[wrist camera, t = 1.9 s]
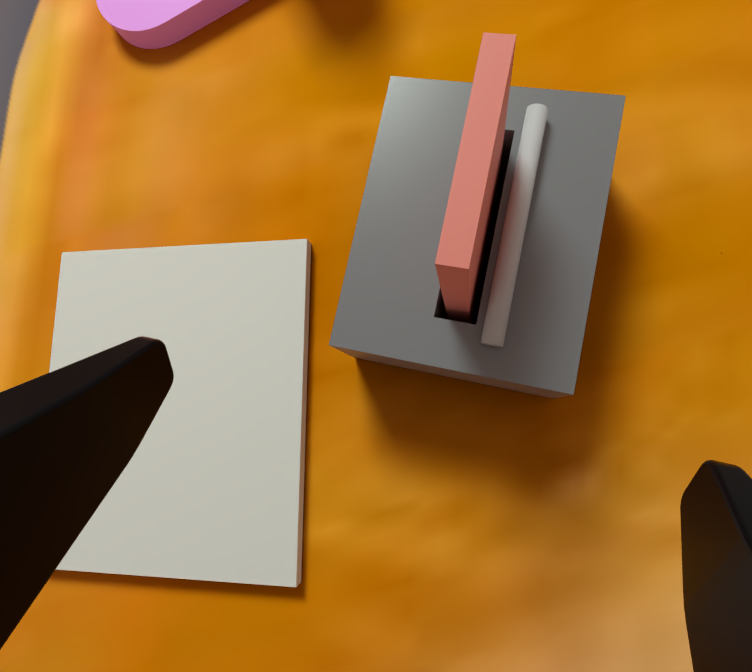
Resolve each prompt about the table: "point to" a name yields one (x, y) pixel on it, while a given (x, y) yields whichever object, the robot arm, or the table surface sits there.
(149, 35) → the bracket
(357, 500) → the table surface
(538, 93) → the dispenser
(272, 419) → the mat
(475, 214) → the pink rectangular prism
